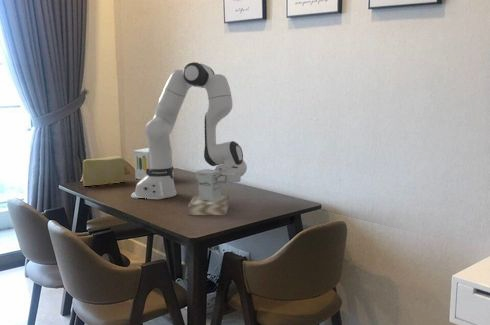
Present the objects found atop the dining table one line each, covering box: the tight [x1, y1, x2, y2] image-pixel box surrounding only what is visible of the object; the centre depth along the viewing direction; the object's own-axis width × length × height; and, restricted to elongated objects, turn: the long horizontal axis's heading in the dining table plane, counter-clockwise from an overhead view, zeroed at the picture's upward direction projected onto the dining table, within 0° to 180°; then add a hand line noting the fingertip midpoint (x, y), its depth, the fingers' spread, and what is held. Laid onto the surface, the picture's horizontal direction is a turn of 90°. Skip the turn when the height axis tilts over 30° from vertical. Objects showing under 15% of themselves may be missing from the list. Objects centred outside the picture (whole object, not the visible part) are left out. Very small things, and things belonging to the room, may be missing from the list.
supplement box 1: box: [133, 147, 150, 179], centre depth 293 cm, size 13×13×18 cm
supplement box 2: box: [197, 168, 222, 201], centre depth 223 cm, size 7×7×13 cm
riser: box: [187, 194, 230, 216], centre depth 224 cm, size 16×16×5 cm
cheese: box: [82, 155, 126, 187], centre depth 282 cm, size 22×10×15 cm, turn 126°
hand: (207, 178), depth 221 cm, fingers open, 7 cm apart
